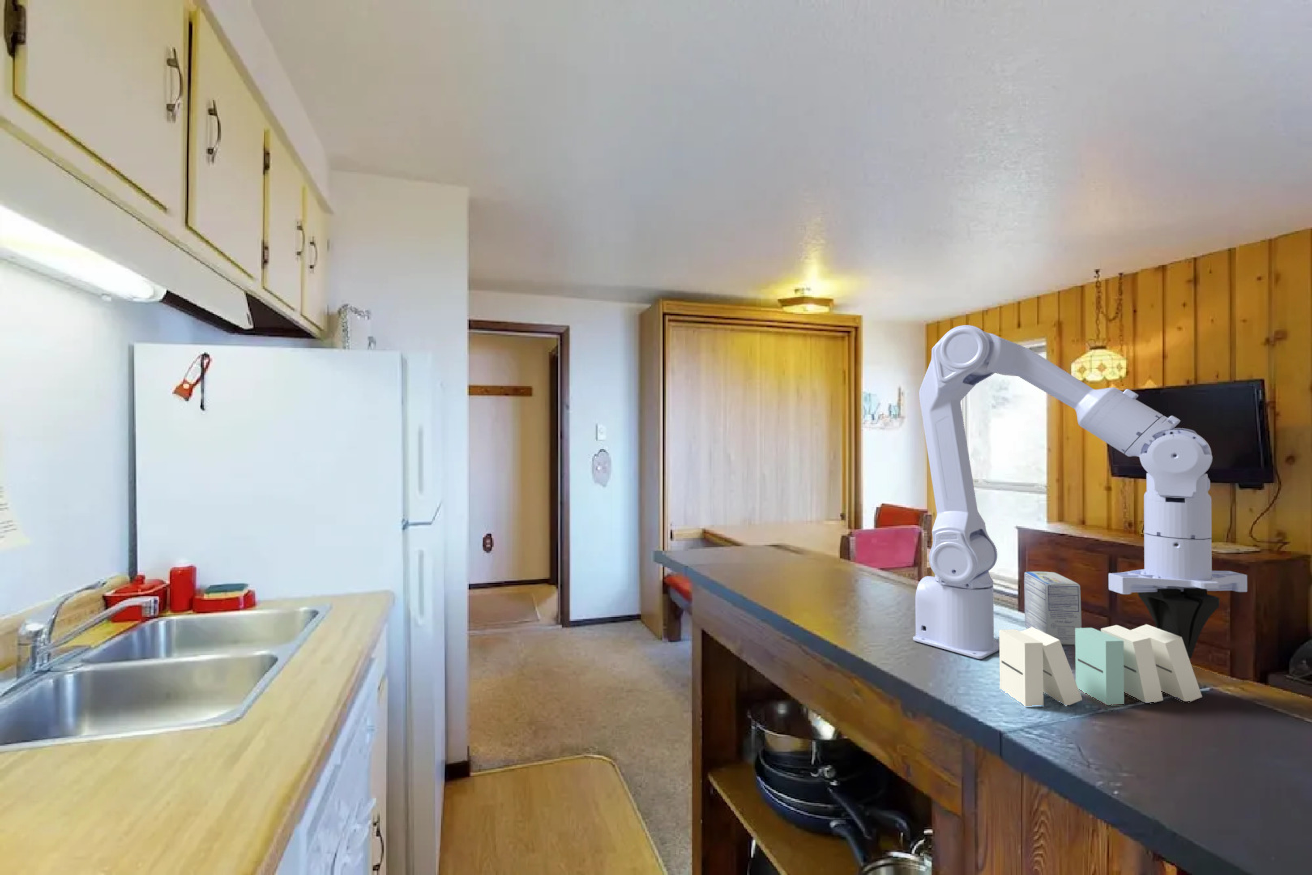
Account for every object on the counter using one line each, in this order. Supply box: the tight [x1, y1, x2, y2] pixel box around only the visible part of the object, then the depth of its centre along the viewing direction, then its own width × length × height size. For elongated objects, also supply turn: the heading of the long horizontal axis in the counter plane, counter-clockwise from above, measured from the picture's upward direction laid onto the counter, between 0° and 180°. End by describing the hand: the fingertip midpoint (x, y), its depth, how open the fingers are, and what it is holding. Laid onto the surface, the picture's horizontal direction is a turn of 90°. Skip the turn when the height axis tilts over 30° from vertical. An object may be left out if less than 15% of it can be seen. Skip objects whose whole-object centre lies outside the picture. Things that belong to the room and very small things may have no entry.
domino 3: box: [1074, 627, 1125, 706], centre depth 66 cm, size 2×4×7 cm, turn 2°
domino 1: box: [998, 629, 1044, 706], centre depth 66 cm, size 2×4×7 cm, turn 2°
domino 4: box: [1100, 624, 1164, 703], centre depth 66 cm, size 2×4×7 cm, turn 2°
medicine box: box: [1023, 571, 1082, 646], centre depth 86 cm, size 8×4×9 cm, turn 168°
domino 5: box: [1130, 623, 1203, 702], centre depth 66 cm, size 2×4×7 cm, turn 2°
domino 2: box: [1020, 627, 1083, 706], centre depth 66 cm, size 2×4×7 cm, turn 2°
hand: (1177, 655), depth 66 cm, fingers closed
